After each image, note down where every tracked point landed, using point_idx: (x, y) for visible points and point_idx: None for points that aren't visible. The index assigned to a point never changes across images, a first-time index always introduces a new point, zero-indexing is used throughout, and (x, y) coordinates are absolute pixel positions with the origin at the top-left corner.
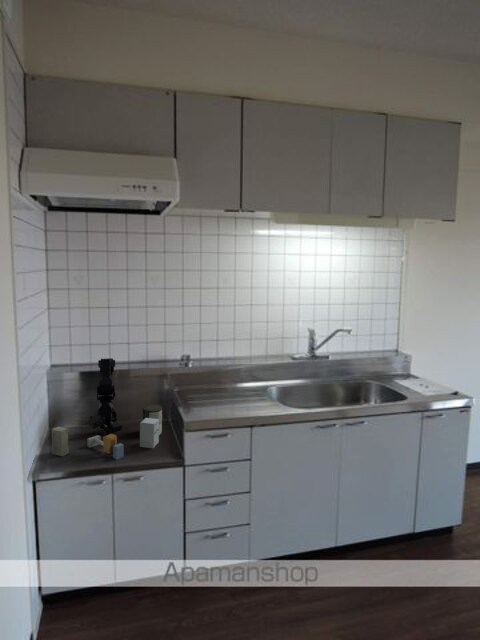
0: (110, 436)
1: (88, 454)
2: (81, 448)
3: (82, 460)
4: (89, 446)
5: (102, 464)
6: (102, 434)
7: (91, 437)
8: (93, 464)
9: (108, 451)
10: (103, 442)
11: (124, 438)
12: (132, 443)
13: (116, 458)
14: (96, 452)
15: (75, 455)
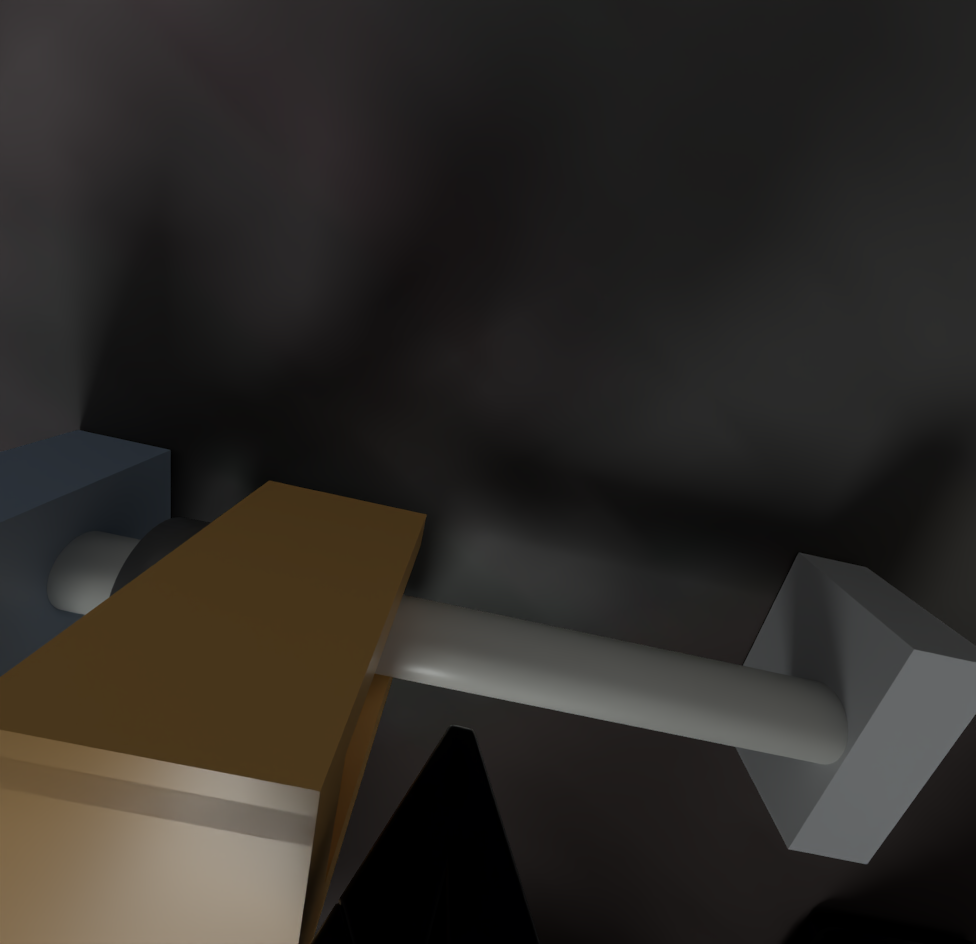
0: (107, 885)
1: (643, 335)
2: (928, 460)
3: (563, 33)
4: (820, 563)
5: (88, 134)
6: (516, 893)
7: (944, 746)
8: (221, 16)
9: (248, 496)
10: (385, 621)
11: (536, 930)
12: (346, 878)
13: (60, 435)
14: (569, 471)
15: (865, 148)
